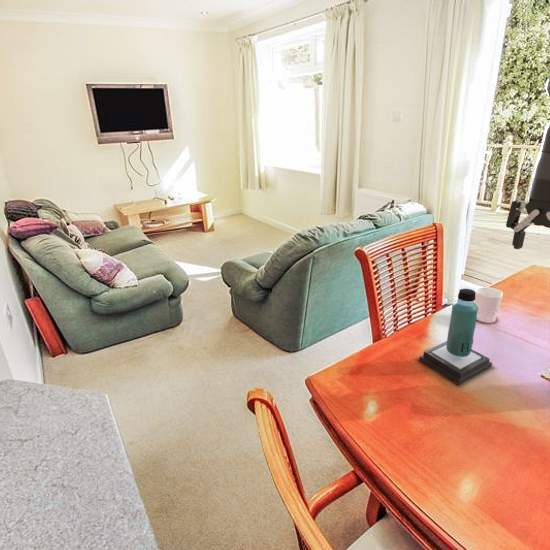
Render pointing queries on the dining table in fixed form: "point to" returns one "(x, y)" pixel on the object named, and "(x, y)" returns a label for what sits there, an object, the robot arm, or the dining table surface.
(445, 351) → the pan
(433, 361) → the scale
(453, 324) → the beverage bottle
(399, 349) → the dining table surface
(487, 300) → the white cup
